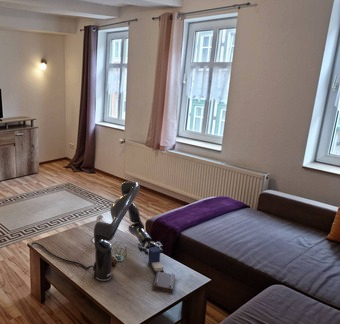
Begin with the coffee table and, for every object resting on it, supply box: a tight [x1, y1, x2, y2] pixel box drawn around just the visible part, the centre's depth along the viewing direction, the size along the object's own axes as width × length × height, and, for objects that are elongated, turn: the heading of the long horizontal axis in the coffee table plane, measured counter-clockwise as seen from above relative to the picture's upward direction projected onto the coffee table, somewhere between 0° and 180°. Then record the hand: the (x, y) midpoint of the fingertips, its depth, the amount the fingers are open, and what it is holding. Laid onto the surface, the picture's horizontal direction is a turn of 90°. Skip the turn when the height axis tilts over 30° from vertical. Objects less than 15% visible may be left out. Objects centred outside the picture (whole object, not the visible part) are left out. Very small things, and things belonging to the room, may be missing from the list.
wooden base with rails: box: [152, 271, 176, 294], centre depth 181 cm, size 10×13×4 cm
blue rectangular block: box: [147, 247, 165, 276], centre depth 194 cm, size 11×5×11 cm, turn 11°
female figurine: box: [88, 213, 104, 244], centre depth 222 cm, size 11×16×20 cm
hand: (154, 252), depth 196 cm, fingers open, 8 cm apart
